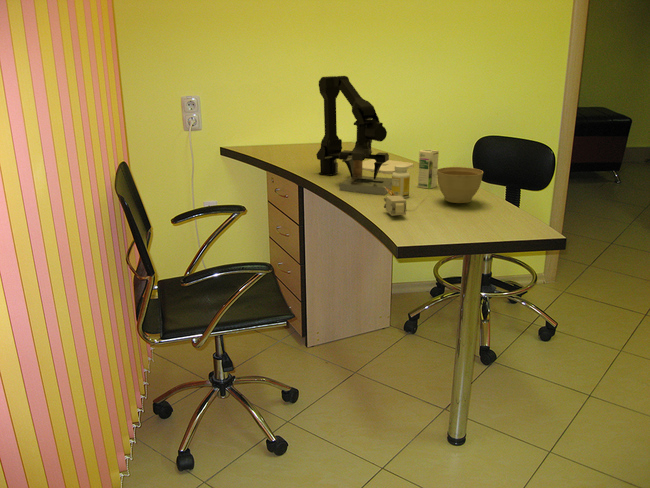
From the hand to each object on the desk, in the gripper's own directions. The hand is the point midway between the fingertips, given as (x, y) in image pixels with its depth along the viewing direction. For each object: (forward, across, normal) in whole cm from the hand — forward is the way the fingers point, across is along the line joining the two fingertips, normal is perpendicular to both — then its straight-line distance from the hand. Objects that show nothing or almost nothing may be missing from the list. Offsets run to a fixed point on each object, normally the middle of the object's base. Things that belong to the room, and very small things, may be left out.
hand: (363, 178), depth 239 cm
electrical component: (+4, +17, -23) cm, 29 cm away
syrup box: (+4, +23, +11) cm, 26 cm away
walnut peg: (+4, -7, +13) cm, 15 cm away
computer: (+5, -3, +37) cm, 37 cm away
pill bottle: (+4, +17, -8) cm, 19 cm away
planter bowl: (+4, +38, -6) cm, 39 cm away
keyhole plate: (+4, +2, 0) cm, 4 cm away
